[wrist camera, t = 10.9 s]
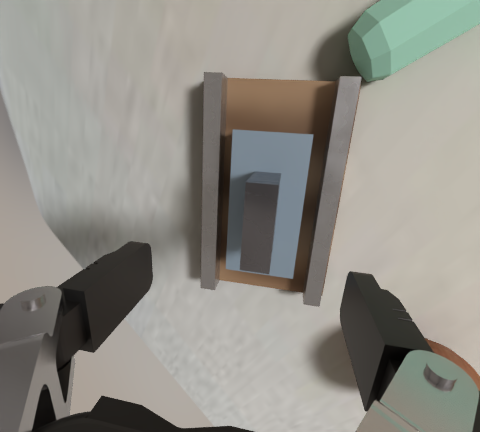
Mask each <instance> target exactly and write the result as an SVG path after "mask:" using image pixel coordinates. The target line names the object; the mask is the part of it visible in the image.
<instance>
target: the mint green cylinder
mask: <svg viewBox="0 0 480 432" xmlns="http://www.w3.org/2000/svg"><path fill="white" fill-rule="evenodd" d="M478 24H480V0H380V1H379V2H377V3H376V4H374V5H373V6H371V7H370V8H368V9H367V10H365V12H364V13H363V14H362V16H361V17H360V18H359V19H358V21H357V22H356V23H355V25H354V26H353V27H352V29H351V31H350V32H349V34H348V42H349V48H350V54H351V57H352V59H353V62H354V64H355V66H356V68H357V70H358V72H359V73H360V74H361V76H362V77H363V78H364V79H365V80H366V81H367V82H369V81H376V80H383V79H384V78H386V77H388V76H390V75H391V74H393V73H395V72H397V71H398V70H400V69H402V68H404V67H405V66H407V65H409V64H410V63H412V62H414V61H416V60H417V59H419V58H421V57H423V56H424V55H426V54H428V53H430V52H431V51H433V50H435V49H437V48H438V47H440V46H442V45H444V44H445V43H447V42H449V41H451V40H452V39H454V38H456V37H458V36H459V35H461V34H463V33H464V32H466V31H468V30H470V29H471V28H473V27H475V26H477V25H478Z"/></svg>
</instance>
